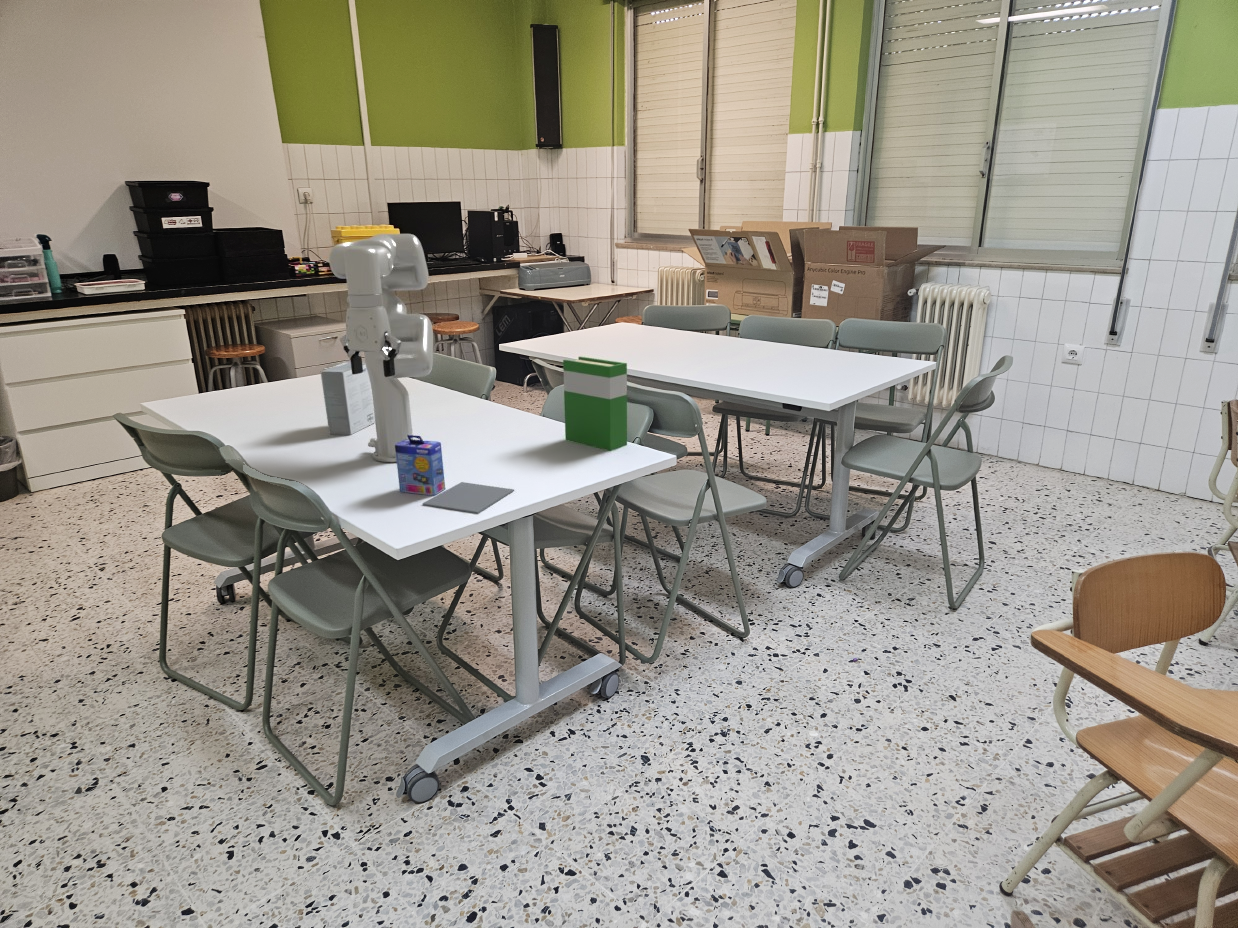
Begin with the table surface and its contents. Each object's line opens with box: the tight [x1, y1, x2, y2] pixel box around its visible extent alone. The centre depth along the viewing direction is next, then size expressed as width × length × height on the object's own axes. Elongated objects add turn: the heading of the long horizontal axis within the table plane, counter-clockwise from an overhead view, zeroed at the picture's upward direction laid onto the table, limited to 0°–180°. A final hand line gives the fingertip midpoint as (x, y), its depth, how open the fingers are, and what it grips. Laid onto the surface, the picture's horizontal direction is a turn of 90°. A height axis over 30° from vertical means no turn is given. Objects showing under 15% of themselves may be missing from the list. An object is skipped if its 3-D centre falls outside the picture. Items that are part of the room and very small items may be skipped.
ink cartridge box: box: [395, 434, 446, 497], centre depth 182 cm, size 10×6×14 cm, turn 73°
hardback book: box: [562, 356, 628, 452], centre depth 220 cm, size 18×7×24 cm, turn 50°
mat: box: [422, 481, 515, 515], centre depth 180 cm, size 15×16×1 cm
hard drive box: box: [320, 361, 375, 436], centre depth 237 cm, size 16×8×20 cm, turn 168°
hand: (373, 374), depth 182 cm, fingers open, 9 cm apart
